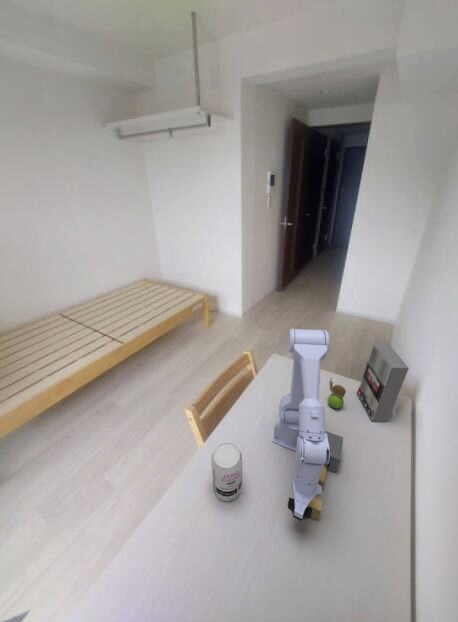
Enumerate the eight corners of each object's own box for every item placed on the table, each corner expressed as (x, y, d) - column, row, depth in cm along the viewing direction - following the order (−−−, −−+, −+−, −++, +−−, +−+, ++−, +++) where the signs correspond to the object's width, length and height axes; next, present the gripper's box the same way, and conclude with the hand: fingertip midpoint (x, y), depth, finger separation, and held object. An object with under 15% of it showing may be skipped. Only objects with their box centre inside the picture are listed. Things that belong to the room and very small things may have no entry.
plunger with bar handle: (291, 507, 72) (293, 497, 70) (303, 458, 84) (305, 447, 82) (318, 520, 70) (321, 510, 67) (326, 467, 82) (329, 457, 79)
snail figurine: (327, 397, 107) (332, 373, 101) (343, 404, 103) (350, 380, 98) (322, 405, 103) (327, 382, 97) (339, 413, 100) (346, 389, 94)
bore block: (302, 460, 84) (305, 446, 81) (307, 439, 90) (310, 425, 87) (336, 474, 80) (340, 459, 77) (339, 451, 87) (343, 437, 83)
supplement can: (227, 467, 83) (226, 435, 75) (247, 487, 77) (248, 455, 70) (207, 486, 78) (204, 454, 70) (227, 509, 72) (226, 477, 65)
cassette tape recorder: (355, 393, 108) (370, 342, 96) (371, 393, 108) (387, 342, 96) (370, 422, 96) (389, 368, 84) (387, 422, 96) (409, 368, 84)
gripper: (319, 511, 58) (311, 540, 64) (328, 453, 69) (320, 483, 76) (287, 496, 60) (282, 526, 67) (301, 443, 72) (295, 472, 78)
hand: (300, 502), depth 72 cm, fingers open, 7 cm apart
